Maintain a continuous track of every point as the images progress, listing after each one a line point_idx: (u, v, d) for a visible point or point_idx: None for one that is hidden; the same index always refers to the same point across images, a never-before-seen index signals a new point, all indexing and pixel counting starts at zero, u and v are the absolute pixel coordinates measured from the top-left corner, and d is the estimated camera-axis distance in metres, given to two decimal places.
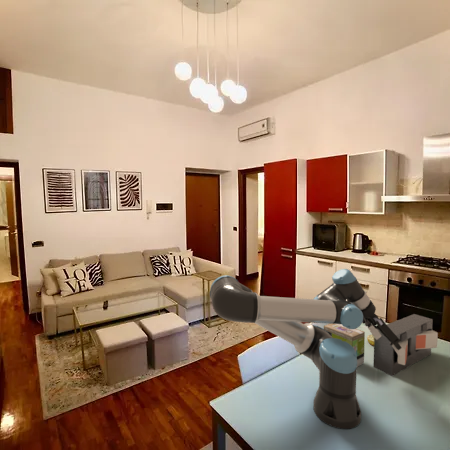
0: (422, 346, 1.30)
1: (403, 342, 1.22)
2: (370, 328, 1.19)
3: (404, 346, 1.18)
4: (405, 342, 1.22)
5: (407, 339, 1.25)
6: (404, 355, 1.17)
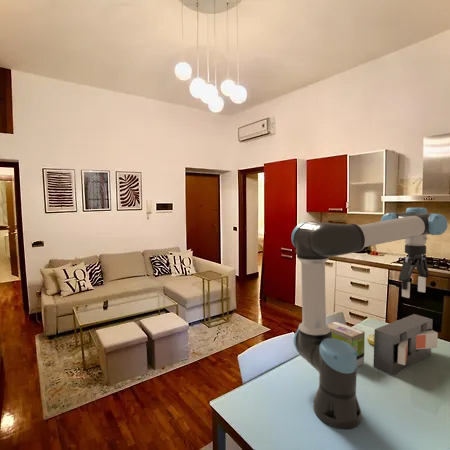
0: (422, 346, 1.30)
1: (403, 342, 1.22)
2: (419, 278, 1.25)
3: (404, 346, 1.18)
4: (405, 342, 1.22)
5: (407, 339, 1.25)
6: (404, 355, 1.17)
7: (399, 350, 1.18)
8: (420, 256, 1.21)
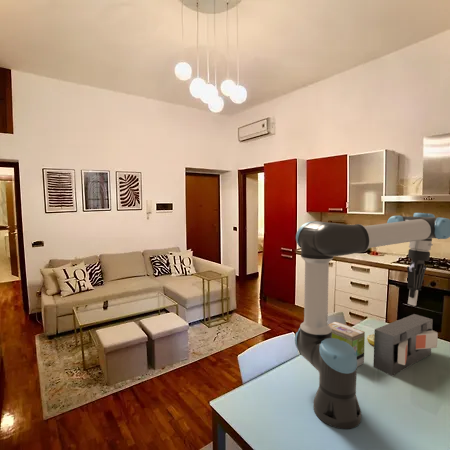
0: (422, 346, 1.30)
1: (403, 342, 1.22)
2: None
3: (404, 346, 1.18)
4: (405, 342, 1.22)
5: (407, 339, 1.25)
6: (404, 355, 1.17)
7: (399, 350, 1.18)
8: (423, 261, 1.21)
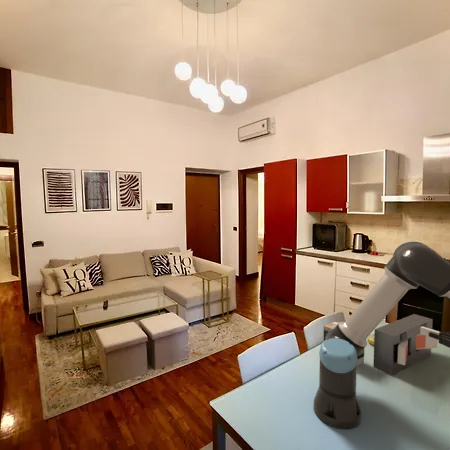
0: (422, 346, 1.30)
1: (403, 342, 1.22)
2: None
3: (404, 346, 1.18)
4: (405, 342, 1.22)
5: (407, 339, 1.25)
6: (404, 355, 1.17)
7: (399, 350, 1.18)
8: None
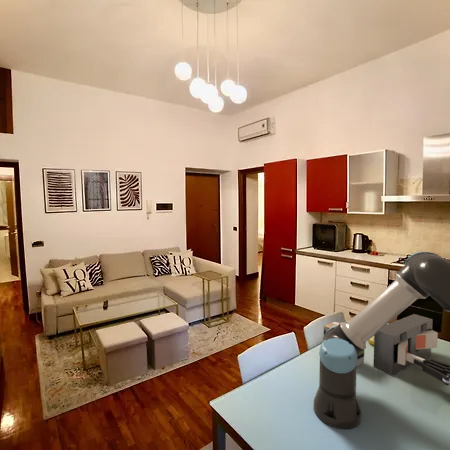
0: (422, 346, 1.30)
1: (403, 342, 1.22)
2: None
3: (404, 346, 1.18)
4: (405, 342, 1.22)
5: (407, 339, 1.24)
6: (404, 355, 1.17)
7: (399, 350, 1.18)
8: None
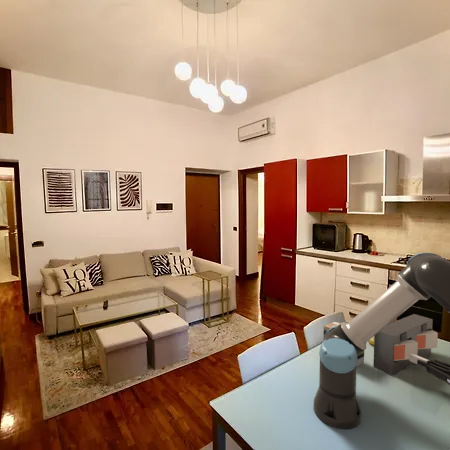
0: (422, 346, 1.30)
1: (402, 342, 1.22)
2: None
3: None
4: (405, 343, 1.21)
5: (413, 342, 1.22)
6: None
7: None
8: None
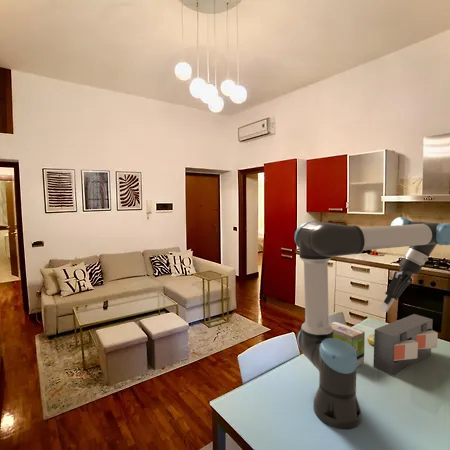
0: (422, 346, 1.30)
1: (402, 342, 1.22)
2: None
3: None
4: (405, 343, 1.21)
5: (413, 342, 1.22)
6: None
7: None
8: (411, 274, 1.18)
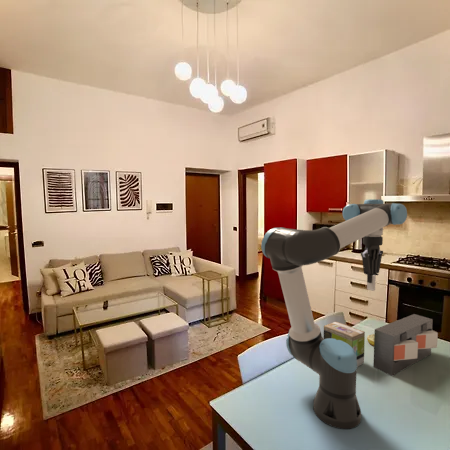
0: (422, 346, 1.30)
1: (402, 342, 1.22)
2: None
3: None
4: (405, 343, 1.21)
5: (413, 342, 1.22)
6: None
7: None
8: (378, 246, 1.23)
